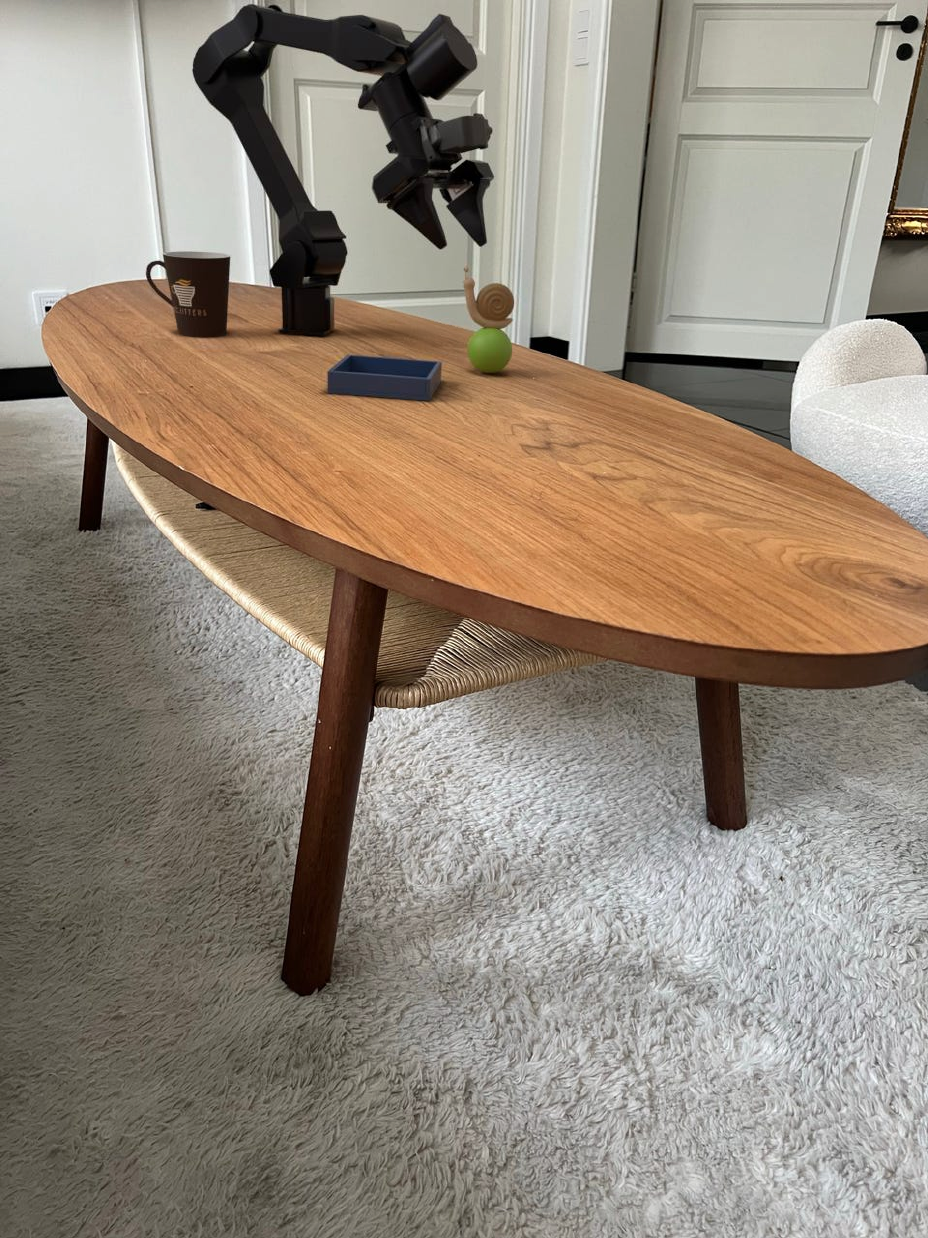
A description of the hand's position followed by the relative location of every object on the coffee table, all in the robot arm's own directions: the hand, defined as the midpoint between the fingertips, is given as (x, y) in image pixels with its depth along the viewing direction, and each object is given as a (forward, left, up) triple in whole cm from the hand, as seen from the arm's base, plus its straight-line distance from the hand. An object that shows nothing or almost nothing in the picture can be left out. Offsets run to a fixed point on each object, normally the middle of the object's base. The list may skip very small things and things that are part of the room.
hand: (464, 246), depth 111 cm
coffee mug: (-37, +6, -14) cm, 40 cm away
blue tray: (-6, -19, -14) cm, 24 cm away
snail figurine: (+4, -7, -14) cm, 16 cm away
